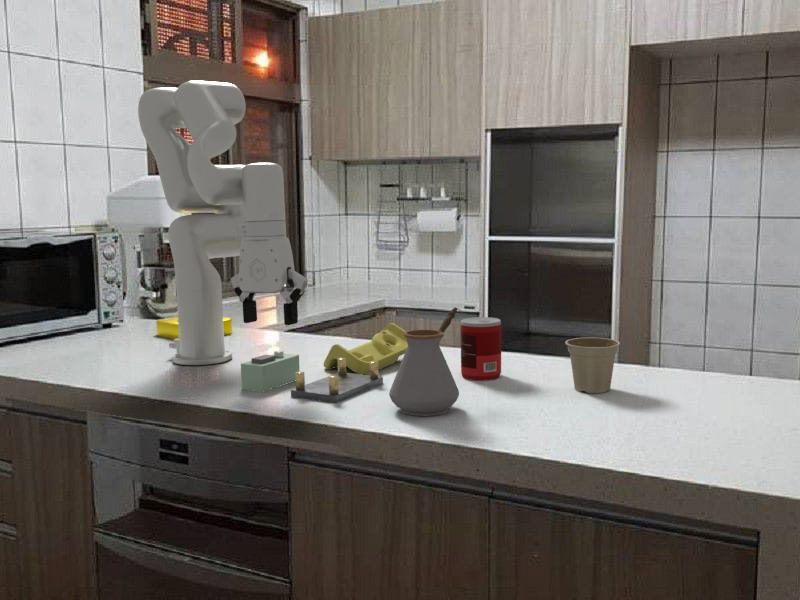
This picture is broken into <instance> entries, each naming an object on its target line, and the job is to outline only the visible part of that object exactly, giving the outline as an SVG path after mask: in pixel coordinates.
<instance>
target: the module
mask: <svg viewBox="0 0 800 600" xmlns="http://www.w3.org/2000/svg"><path fill="white" fill-rule="evenodd" d="M296 372H301V370H300V354H293V353H292V354H290V353H285V352H284V350H274V351H273V354H271V355H270V354H262V355H259V356H255V357H252V358H251V360H248V361H246V362H242V363H240V375H241V376H240V378H241V390H244V389H245V391H251V390H254V391H253V392H258V391H262V392H261V393H264V392H263V391H265V392H267V391H266V390H268V391H270V390H269V389H271V388H274V389H276V388H275V387H277V386H280V385H282V386H284V385H283V384H285V385H287V384H286V383H288V384H290V383H289V382H291V383H293V382H292V381H294V382H296V381H295V380H296V379H295V373H296ZM280 387H281V386H280ZM277 388H278V387H277ZM246 389H247V390H246ZM271 390H272V389H271Z"/></svg>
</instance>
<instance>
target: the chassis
mask: <svg viewBox="0 0 800 600" xmlns="http://www.w3.org/2000/svg"><path fill="white" fill-rule="evenodd" d="M369 364H370V374H366V375H361V374H358V373H352V372H347V366H346V358H338V367H337V373H335V374H332V375H329V376H325V377H323V378H321V379H317V380H314V381H312V382H309V383H307V384H305V381H306V380H305V371H300V372H296V373H295V379H296V381H295V388H293V389H290V397H291V398H292V397H293V398H298V399H306V400H312V399H314V400H315V401H319V400H320V401H319V402H328V403H334V404H336V402H337V403H339V402H342V401H343V399H344V400H346V399H348V397H349V398H350V397H353V396H355V394H356V395H358V394H361V393H363V392H365V391H367V389H368V390H371V389H373V388H375V387H377V385H378V386H380V385H382V384H384V378H383V376H379V370H378V361H370V362H369ZM381 383H382V384H381ZM379 384H380V385H379ZM374 386H375V387H374ZM372 387H373V388H372ZM362 391H363V392H362ZM360 392H361V393H360ZM357 393H358V394H357ZM314 400H313V401H314Z"/></svg>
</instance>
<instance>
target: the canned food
mask: <svg viewBox="0 0 800 600" xmlns="http://www.w3.org/2000/svg"><path fill="white" fill-rule="evenodd" d="M501 320H502V319H500V318H498V317H491V316H490V317H487V316H486V317H485V316H477V317H467V318H462V319H461V320H460V368H461V369H460V373H461V377H462V378H464V379H466V380H468V381H469V380H470V381H477V382H478V381H494V380H496V379H498V378H500V376H501V373H502V322H501Z"/></svg>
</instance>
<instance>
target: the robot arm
mask: <svg viewBox="0 0 800 600" xmlns="http://www.w3.org/2000/svg"><path fill="white" fill-rule="evenodd" d="M138 100H139V101H138V105H137V106H138V107H137V110H138V111H137V113H138V121H139V126H140V129H141V132H142V136H143V137H144V139H145V141H146V143H147V145H148V147H149V149H150V151H151V153H152V155H153V156H154V160H155V163H156V165H157V166H156V167H157V170H158V175H159V179H160V182H161V185H162V189H163V193H164V194H163V195H164V198H165V201H166V203H167V205H168V207H169V209H170V210H171V211H173V212H175V213H178V214H179V213H180V214H186V215H181V216H178V217H176V218H174V220H173V221H172V222H171V223H170V224H169V227H168V231H167V232H168V242H169V247H170V251H171V255H172V259H173V260H172V261H173V267H174V275H175V289H176V304H177V317H178V326H179V339H172V341H170V342H169V344H168V347H169V349H175V350H176V353H175V354H174V355H173V356H172V362H173V363H175V364H177V365H182V366H206V365H215V364H219V363H224V362H229V361H230V360H231V359H232V358H233V352H231V351H230V350H226V349H225V335H224V327H223V317H224V313H223V292H222V291H223V290H222V289H223V288H222V278H221V276H220V274H219V272H218V270H217V269H216V268H215V266H214V265H213V264H212V263H211V261H210V259H219V258H232V257H233V258H234V257H239V261H238V262H239V263H238V273H237V274H235V275H234V276H232V277H231V278H230V282H231V285H232V287H233V289H234V293H235V294H236V295H237V297H238V300H239V302H241V303H242V316H243V317H242V318H243V323H244V324H249V323H254V322H256V321H258V314H257V313H258V312H257V301H256V300H255V296H256V295H257V294H278V293H279V294H280V296H281V297H282V298H283V300H284V301H285V303H283V323H284V325H285V326H290V325H296V324H297V323H298V322H299V320H298V318H299V314H298V313H299V312H298V310H299V309H298V302H300V300H301V299H302V298H301V297H303V295H304V294H305V290H306V287H307V285H308V278H307V277H305V276H304V275H302V274H300V273H299V272H297V271H295V265H294V264H295V263H294V255H293V250H292V245H291V242H290V239H289V237H287V225H286V224H287V223H286V206H285V205H286V204H285V187H284V185H285V184H284V172H283V168H282V166H281V165H280V164H278V163H274V162H254V163H253V162H252V163H248V164H214V163H212V162H211V159H213V158H216V157H219V155H221V154H223V153H225V152H226V151H228V150H229V149H230V148H231V147H233V145H234V143H235V142H236V138H237V129H236V126H235V125H236V124H240V122H241V121H242V120H243V118H244V117H245V114H246V108H247V107H246V100H245V96H244V94H243V92H242V91H241V90H240V88H239V87H238V86H237V85H235V84H234V83H233V84H232V83H230V82H220V81H208V80H189V81H186V82H182V83H181V84H179V86H178V87H154V88H150V89H147V90H146V91H144V92H143V93H142V94H141V95H140V97H139V99H138ZM175 128H176V129H187V131H188V133H189V134H190V136H191V139H193V141H192V142H191V144H190V143H189V141H187V140H186V139H185V137H183V136H182V135H181V134H180V133H179V132H177V131H176V129H175Z"/></svg>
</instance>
